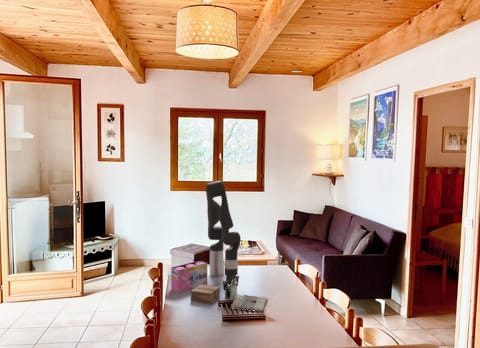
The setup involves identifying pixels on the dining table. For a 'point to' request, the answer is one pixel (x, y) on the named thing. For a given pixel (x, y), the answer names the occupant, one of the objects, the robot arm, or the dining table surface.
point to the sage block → (232, 291)
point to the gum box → (188, 276)
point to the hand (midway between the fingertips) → (230, 295)
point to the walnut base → (205, 294)
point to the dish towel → (242, 304)
